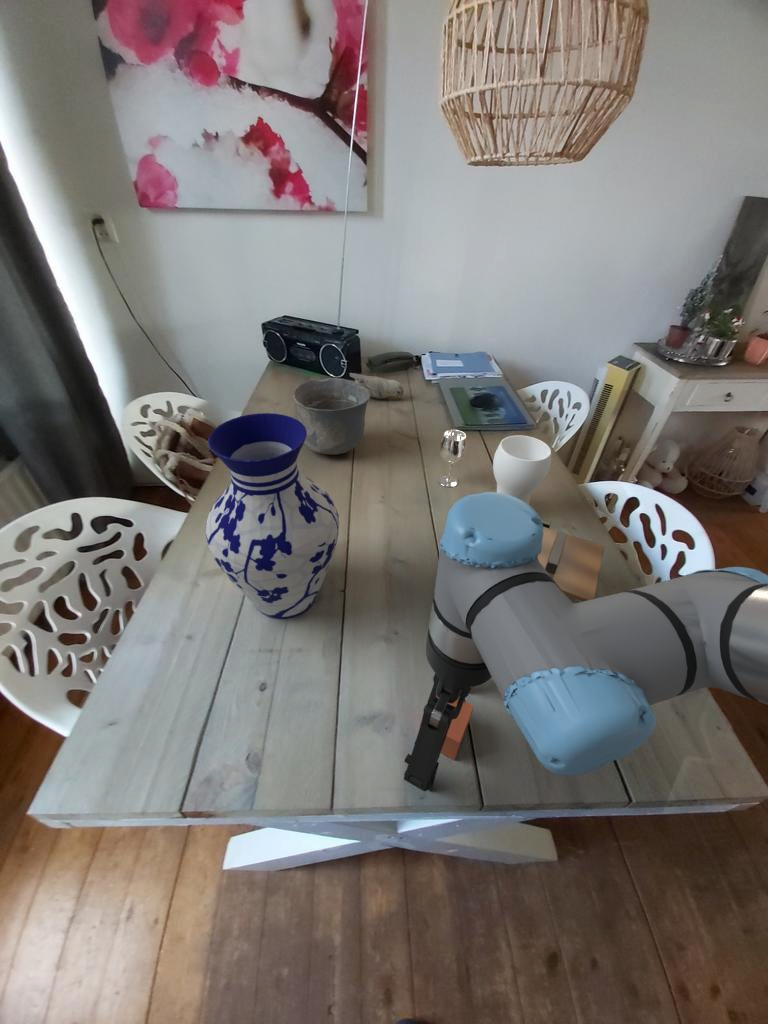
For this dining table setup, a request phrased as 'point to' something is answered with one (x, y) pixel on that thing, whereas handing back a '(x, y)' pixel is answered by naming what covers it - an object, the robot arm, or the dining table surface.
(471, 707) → the block
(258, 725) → the dining table surface
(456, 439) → the wineglass
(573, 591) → the sliding lid
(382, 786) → the dining table surface
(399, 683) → the dining table surface
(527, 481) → the cup
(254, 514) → the vase
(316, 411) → the bowl
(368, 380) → the decorative bird
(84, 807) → the dining table surface
